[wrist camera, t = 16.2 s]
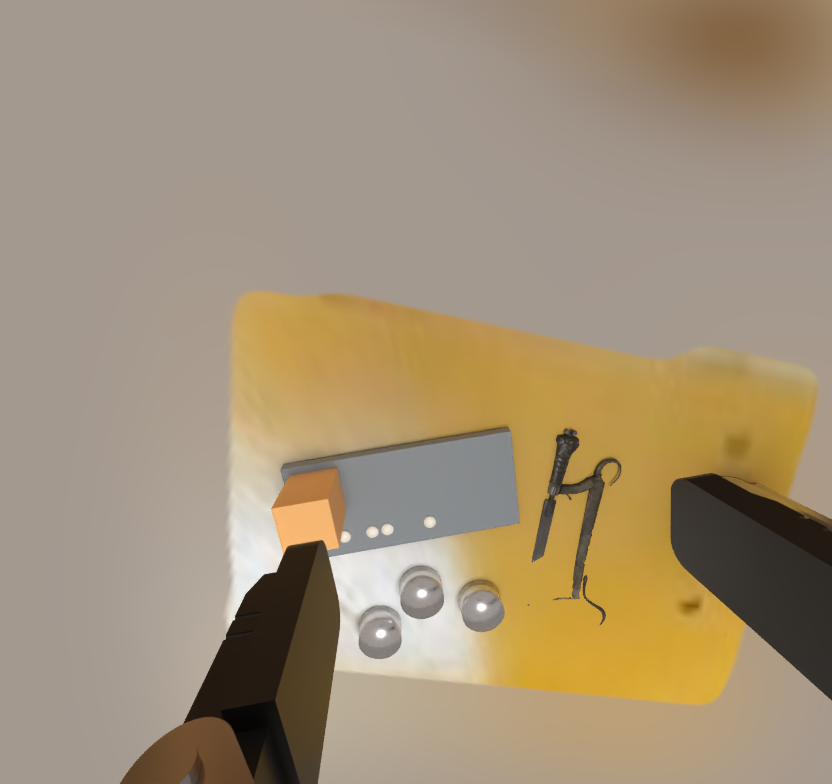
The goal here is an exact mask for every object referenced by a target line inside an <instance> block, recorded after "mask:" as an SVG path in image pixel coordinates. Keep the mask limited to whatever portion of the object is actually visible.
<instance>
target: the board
mask: <svg viewBox="0 0 832 784" xmlns="http://www.w3.org/2000/svg"><path fill="white" fill-rule="evenodd" d="M331 468H337V469H338V473H339V478H340V482H341V487H342V492H343V496H344V501H345V505H346V515H345V520H344V525H343V530H342V536H341V541H340V546H339V548H336V549H331V550H327V552H328V556H329V557H332V556H337V555H343V554H349V553H354V552H360V551H366V550H371V549H377V548H383V547H388V546H394V545H400V544H406V543H411V542H417V541H423V540H428V539H434V538H440V537H445V536H451V535H457V534H462V533H468V532H474V531H480V530H485V529H491V528H497V527H502V526H508V525H514V524H519V523H520V521H519V510H518V499H517V489H516V478H515V468H514V457H513V446H512V436H511V431H510V430H509V428H508V427H505V428H499V429H493V430H487V431H481V432H475V433H469V434H463V435H457V436H451V437H445V438H439V439H433V440H427V441H421V442H415V443H409V444H403V445H397V446H391V447H385V448H379V449H373V450H367V451H361V452H355V453H349V454H343V455H337V456H331V457H325V458H319V459H313V460H307V461H301V462H295V463H289V464H284V465H283V467H282V468H281V473H282V477H283V481H284V485H285V483H286V481H287V480H288V478H289V476H290V475H296V474H302V473H308V472H314V471H320V470H325V469H331Z"/></svg>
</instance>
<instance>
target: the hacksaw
mask: <svg viewBox="0 0 832 784" xmlns="http://www.w3.org/2000/svg"><path fill="white" fill-rule="evenodd" d="M572 432H573V430H572V429H571V432H570V431H569V430H566V431H565V433H566V434H564V435H558V436H557V439H556V441H557V442H558V446H557V452H556V457H555V461H554V467H553V472H552V476H551V480H550V485H549V488H548V493H549V494H550V497H549V500H545V504H544V507H543V508H544V509H543V512H542V517H541V521H540V526H539V530H538V535H537V540H536V544H535V549H534V552H533V557H532V562H533V560H534V561H535V560H537V559H539V558H541V557H543V556H544V551H545V547H546V543H547V538H548V534H549V530H550V526H551V521H552V517H553V513H554V508H555V504H556V500H554V497H555V496H556V495H558V494H566V495H567V496H568V497H569V499H570V500H571V498H570V496H569V495H568V494H578V493H581V492H584V491H587V490H589V489H590V492H589V497H588V501H587V506H586V511H585V514H584V520H583V524H582V530H581V534H580V540H579V546H578V550H577V555H576V562H575V568H574V577H573V582H574V584H573V592H572V597H573V599H579V591H580V589H581V587H580V586H581V581H582V577H583V571H584V566H585V564H583V563H584V562H585V560H586V558H585V557H586V556H587V551H588V546H589V543H590V539H591V536H592V534H591V532H592V529H593V527H594V523H595V519H596V516H597V511H598V507H599V504H600V500H601V497H602V492H603V488H604V484H605V483H604V482H603V480H602V478H601V476H602V474H601V470H602V468H603V467H604V465H606V464H607V463H611V462H615V463H617V464H618V465H619V467H620V472H619V475H618V477H617V478H616V480H617V479H618V478H619V476H620V473H621V464H620V463H619V462H618V461H617V460H615V459H610V460H606V461H604V462H602V463H601V464H600V466H599V467H598V468H597V471H596V472H594V474H595V475H594V476H593V477H591V478H586V480H585V481H583V482H581V483H580V484H576V485H562V481H563V477H564V475H565V472H566V468H567V466H568V462H569V459H570V457H571V455H572V453H573V452H574V451H575V450H576V449H577V448H578V446H579V439H578V438H577V437H575V436H574V435H577V432H576V431H574V432H573V433H572ZM616 480H615V481H616ZM615 481H614V482H615ZM614 482H613V483H614ZM613 483H612V484H613ZM612 484H611V485H612ZM611 485H610V486H611ZM583 581H584V582H583V595H584V598H585V599H586V601H588V603H590V604H591V605H593V606H594V607H596V608H597V609H599V610H600V611H601V612H602V615H603V619H602V622H601V623H600V625H601V624H602V623H603V621H604V620H605V616H606V615H605V611H604V610H603V609H602V608H601V607H600V606H598V605H595V604H594V603H592V602H591V601H589V600H587V598H586V595H585V586H586V582H587V575H585V576H584V578H583ZM570 598H571V597H569V599H570ZM558 599H568V598H556V599H554V600H558ZM528 606H529V604H528Z"/></svg>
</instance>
